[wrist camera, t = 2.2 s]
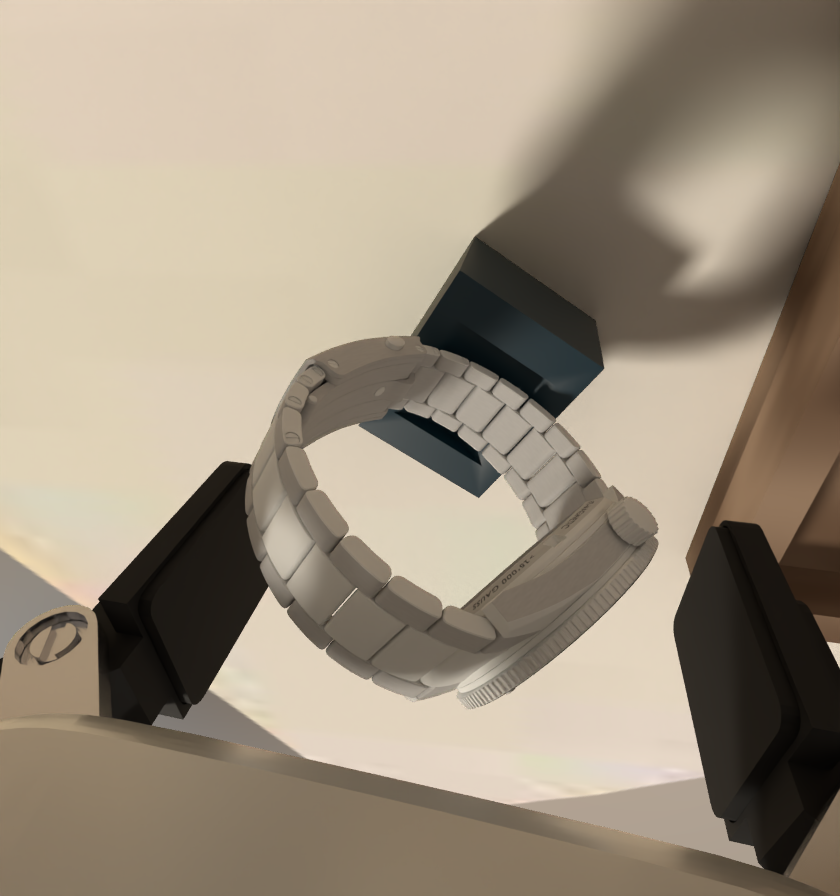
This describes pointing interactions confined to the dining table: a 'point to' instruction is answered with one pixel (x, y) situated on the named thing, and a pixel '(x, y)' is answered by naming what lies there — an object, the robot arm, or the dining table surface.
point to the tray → (794, 435)
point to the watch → (467, 465)
